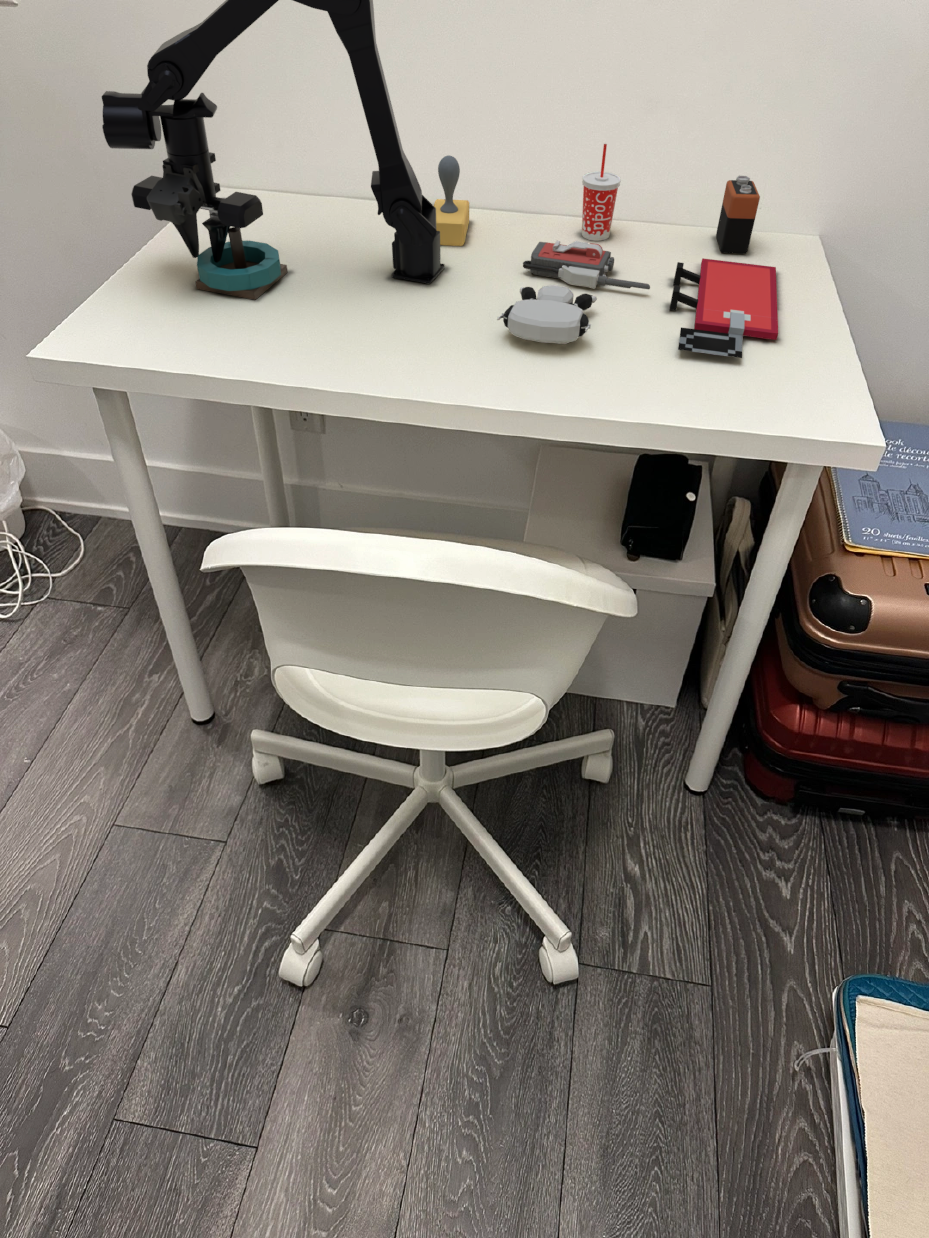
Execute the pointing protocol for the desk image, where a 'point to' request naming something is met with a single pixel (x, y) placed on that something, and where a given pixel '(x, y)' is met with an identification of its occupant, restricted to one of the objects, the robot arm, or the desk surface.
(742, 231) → the battery
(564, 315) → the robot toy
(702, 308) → the red board with handle
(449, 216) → the rubber stamp
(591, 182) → the beverage cup
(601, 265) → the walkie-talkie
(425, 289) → the desk surface
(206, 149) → the robot arm
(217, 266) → the ring
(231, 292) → the stand
